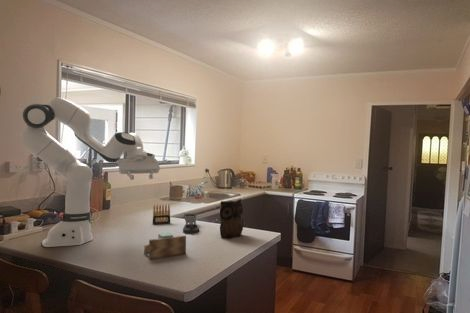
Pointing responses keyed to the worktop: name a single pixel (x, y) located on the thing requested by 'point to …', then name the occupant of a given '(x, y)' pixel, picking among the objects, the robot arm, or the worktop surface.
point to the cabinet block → (164, 235)
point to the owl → (231, 219)
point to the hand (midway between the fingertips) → (141, 178)
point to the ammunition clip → (157, 215)
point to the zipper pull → (190, 224)
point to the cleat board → (165, 247)
